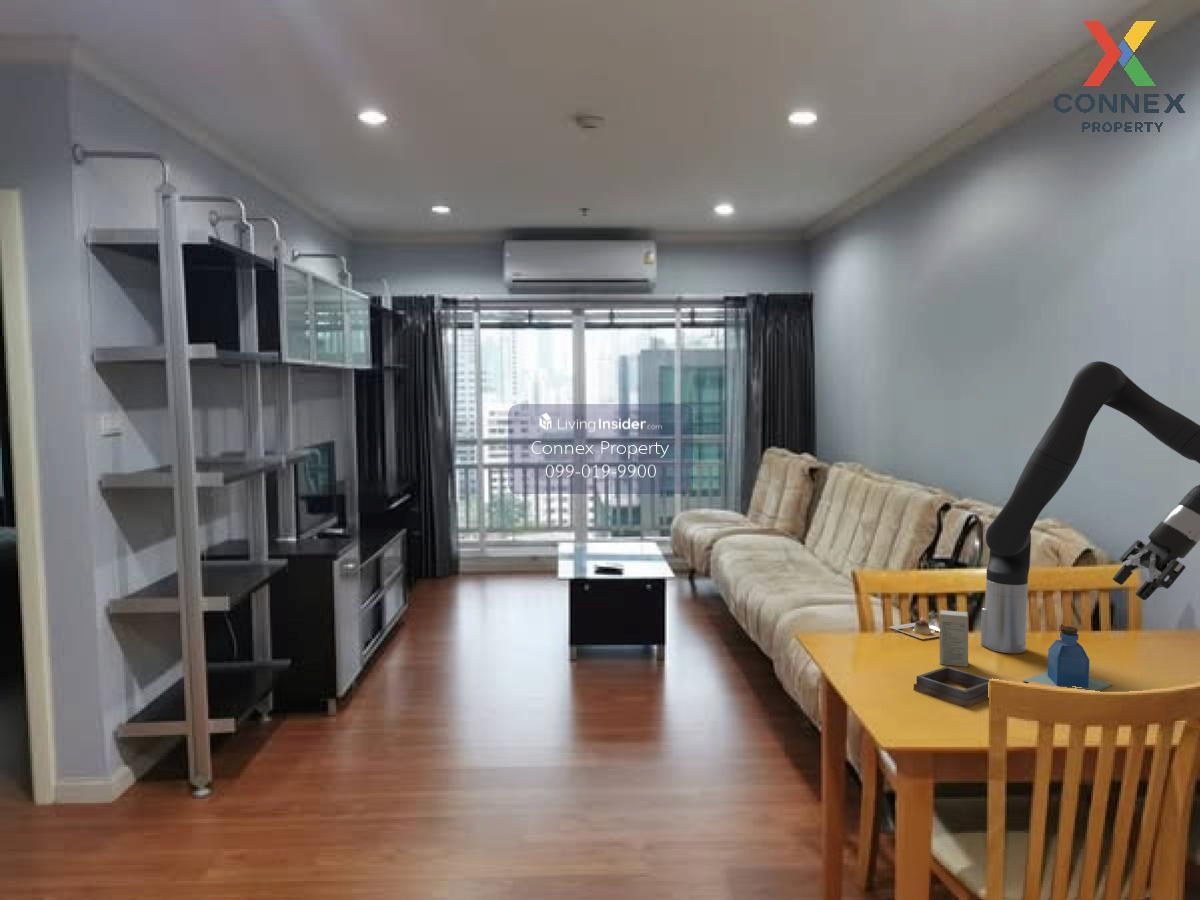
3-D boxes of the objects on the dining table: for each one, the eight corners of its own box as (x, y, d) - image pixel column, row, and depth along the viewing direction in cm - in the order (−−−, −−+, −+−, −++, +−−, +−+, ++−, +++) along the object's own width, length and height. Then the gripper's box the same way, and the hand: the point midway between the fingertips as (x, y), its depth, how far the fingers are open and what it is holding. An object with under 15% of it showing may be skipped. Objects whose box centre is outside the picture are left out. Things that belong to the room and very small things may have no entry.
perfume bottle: (1088, 687, 170) (1090, 633, 169) (1056, 685, 171) (1058, 631, 170) (1078, 678, 176) (1080, 625, 175) (1047, 675, 177) (1049, 623, 176)
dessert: (922, 643, 205) (922, 624, 204) (888, 630, 216) (888, 613, 215) (956, 637, 209) (956, 619, 209) (921, 625, 220) (921, 608, 220)
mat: (1022, 682, 175) (1022, 680, 174) (1054, 669, 182) (1054, 668, 182) (1080, 698, 165) (1080, 697, 165) (1111, 685, 172) (1111, 683, 172)
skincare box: (968, 662, 188) (969, 611, 187) (968, 667, 184) (969, 616, 183) (938, 658, 190) (940, 609, 190) (938, 664, 187) (939, 613, 186)
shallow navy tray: (913, 689, 170) (913, 676, 170) (945, 678, 177) (946, 665, 177) (966, 707, 160) (966, 693, 160) (997, 694, 167) (998, 681, 167)
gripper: (1145, 512, 174) (1096, 569, 178) (1188, 532, 161) (1133, 593, 164) (1172, 530, 175) (1122, 586, 178) (1217, 551, 161) (1162, 612, 164)
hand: (1128, 589), depth 171 cm, fingers open, 8 cm apart
